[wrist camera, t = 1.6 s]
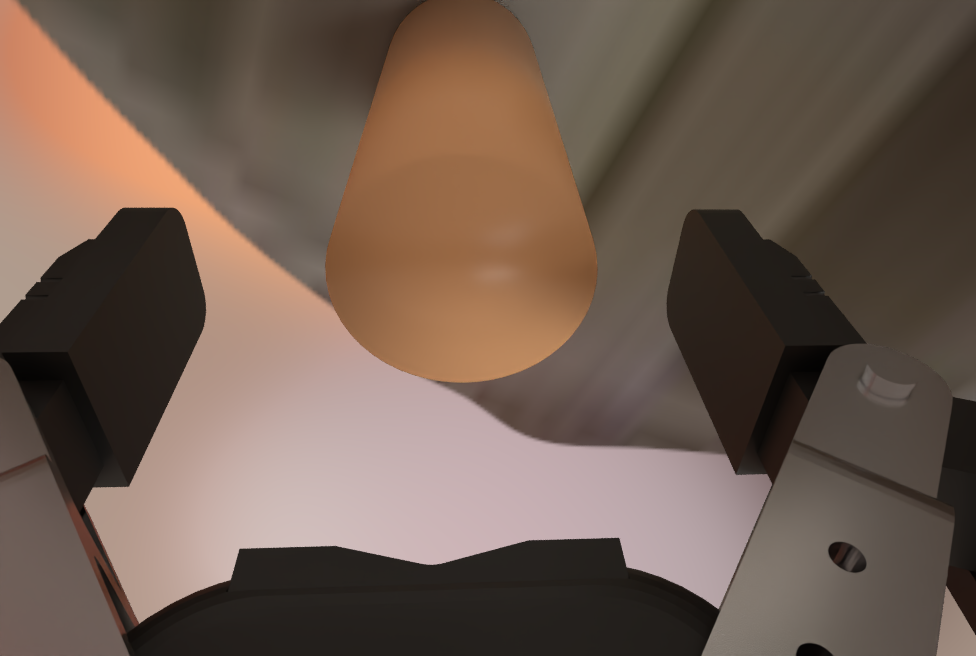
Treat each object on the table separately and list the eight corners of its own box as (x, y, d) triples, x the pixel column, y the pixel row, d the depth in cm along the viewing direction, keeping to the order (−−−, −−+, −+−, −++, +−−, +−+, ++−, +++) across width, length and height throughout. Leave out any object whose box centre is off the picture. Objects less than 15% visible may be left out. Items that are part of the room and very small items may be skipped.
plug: (543, -5, 17) (617, 157, 9) (530, 148, 19) (579, 382, 11) (382, -11, 17) (309, 149, 9) (390, 144, 19) (338, 381, 11)
